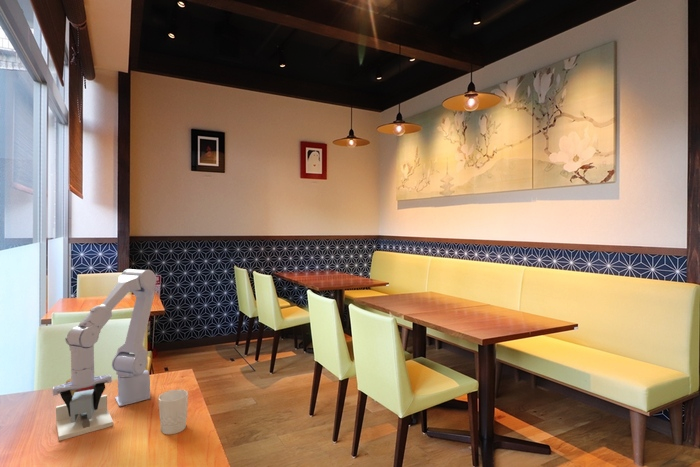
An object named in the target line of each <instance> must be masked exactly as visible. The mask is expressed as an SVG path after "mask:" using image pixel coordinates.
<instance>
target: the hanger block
mask: <svg viewBox="0 0 700 467" xmlns="http://www.w3.org/2000/svg"><path fill="white" fill-rule="evenodd" d="M94 411H95V409H94V389H92V390H86V391H80V392H75V393H74V395H73V396H72V400H71V401H70V415H71V423H73V422H75V421H76V419H77V417H78V414H81V413H86V412H87V420H88V419H92V416H93V413H94Z"/></svg>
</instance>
